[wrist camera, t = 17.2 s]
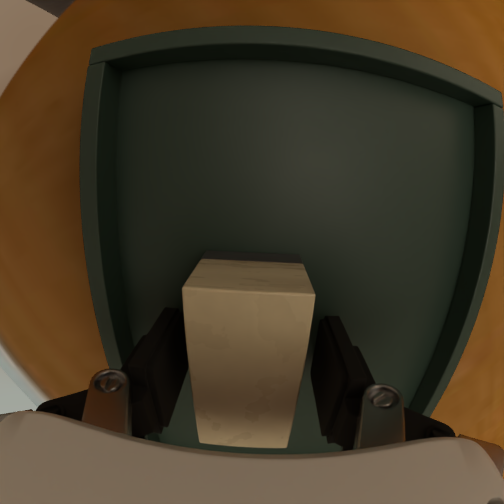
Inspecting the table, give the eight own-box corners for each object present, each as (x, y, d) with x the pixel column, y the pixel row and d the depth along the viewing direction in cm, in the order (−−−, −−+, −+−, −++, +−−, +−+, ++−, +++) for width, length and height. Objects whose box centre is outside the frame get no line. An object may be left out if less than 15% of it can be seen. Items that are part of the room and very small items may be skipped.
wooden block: (206, 249, 11) (181, 287, 7) (299, 254, 10) (316, 294, 7) (211, 388, 13) (199, 443, 9) (283, 392, 12) (287, 448, 9)
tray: (115, 62, 9) (90, 47, 7) (475, 98, 9) (502, 92, 7) (158, 452, 16) (151, 473, 14) (382, 454, 15) (389, 474, 13)
